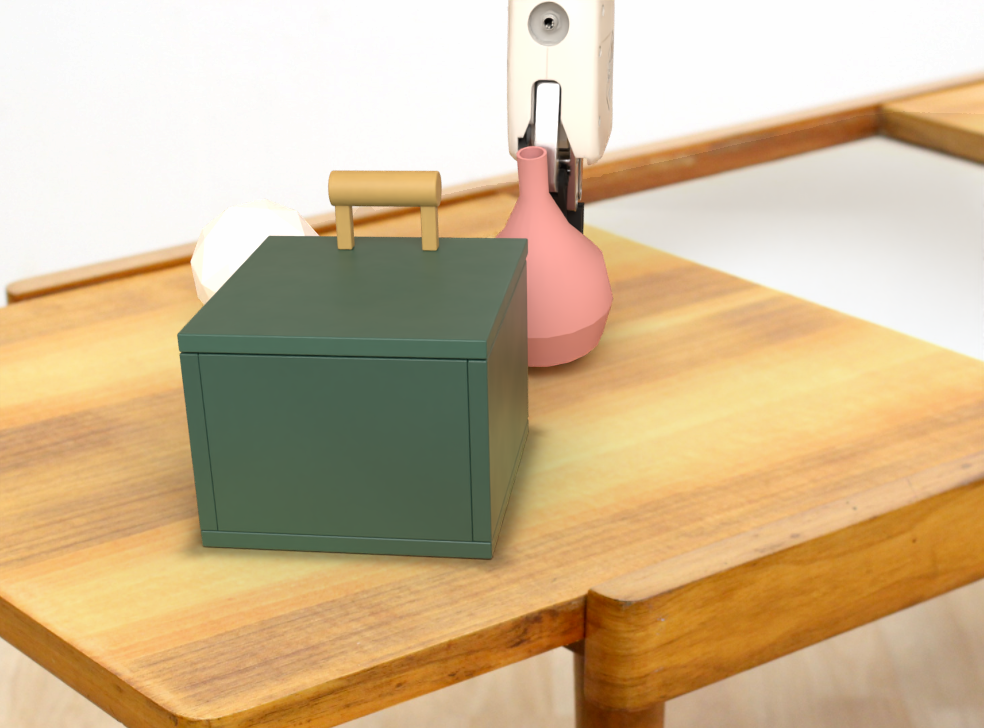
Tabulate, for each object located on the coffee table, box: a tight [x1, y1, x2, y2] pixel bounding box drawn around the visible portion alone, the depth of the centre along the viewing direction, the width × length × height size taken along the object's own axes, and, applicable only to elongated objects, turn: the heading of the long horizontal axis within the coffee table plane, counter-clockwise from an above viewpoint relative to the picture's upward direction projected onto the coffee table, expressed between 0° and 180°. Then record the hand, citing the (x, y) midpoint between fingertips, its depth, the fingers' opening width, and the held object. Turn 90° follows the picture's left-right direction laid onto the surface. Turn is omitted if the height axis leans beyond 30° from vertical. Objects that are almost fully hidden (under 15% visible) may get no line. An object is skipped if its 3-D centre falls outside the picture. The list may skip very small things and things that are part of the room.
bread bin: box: [179, 260, 530, 560], centre depth 70 cm, size 14×13×9 cm
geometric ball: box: [190, 198, 320, 306], centre depth 90 cm, size 8×8×8 cm
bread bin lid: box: [176, 169, 528, 359], centre depth 67 cm, size 14×13×4 cm
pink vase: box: [494, 146, 614, 368], centre depth 82 cm, size 8×8×12 cm
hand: (552, 273), depth 88 cm, fingers closed
